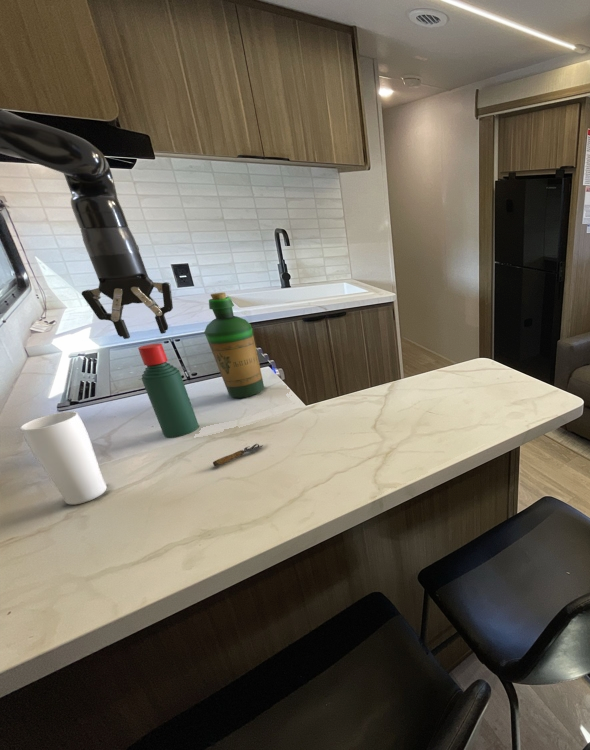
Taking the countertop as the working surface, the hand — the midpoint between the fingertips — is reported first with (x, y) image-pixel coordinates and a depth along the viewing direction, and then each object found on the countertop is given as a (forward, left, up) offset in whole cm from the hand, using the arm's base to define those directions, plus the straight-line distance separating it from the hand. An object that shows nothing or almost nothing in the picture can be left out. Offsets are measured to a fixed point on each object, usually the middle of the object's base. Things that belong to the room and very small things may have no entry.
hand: (145, 335), depth 85 cm
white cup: (-12, -21, -23) cm, 33 cm away
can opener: (+11, -23, -23) cm, 34 cm away
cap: (0, 0, -6) cm, 6 cm away
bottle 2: (+14, +17, -23) cm, 32 cm away
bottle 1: (0, 0, -23) cm, 23 cm away
